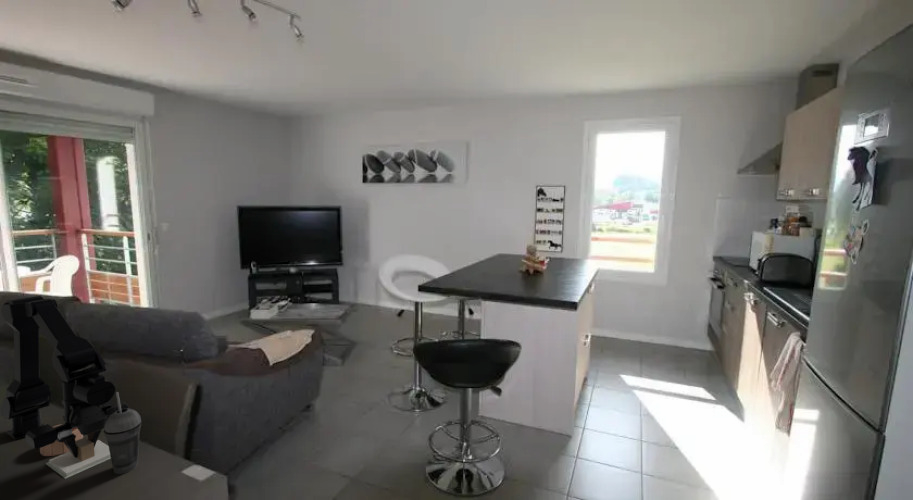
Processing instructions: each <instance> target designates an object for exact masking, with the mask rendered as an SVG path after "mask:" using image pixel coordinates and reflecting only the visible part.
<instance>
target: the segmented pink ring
mask: <svg viewBox="0 0 913 500" xmlns="http://www.w3.org/2000/svg"><path fill="white" fill-rule="evenodd" d="M62 424H63V423H61V424H58V425H55V426H53V427H56V426H59V425H62ZM72 433H73V434H74V435H76V438H75V441H77V440H79V439H82V438H84V435H82V434H81V433H80V431H79V430H78V429H77V428H74V429H72ZM68 452H70V451H69V449H68V448H67V446H66V445H65V444H64V442H58V441H55V442H54V443H52V444H49V445H47V446H44V447H41V448H39V453H40V455H41V456H43V457H54V456H60V455H63V454H65V453H68Z"/></svg>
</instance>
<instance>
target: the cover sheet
mask: <svg viewBox="0 0 913 500" xmlns="http://www.w3.org/2000/svg"><path fill="white" fill-rule="evenodd" d="M75 442H76V447H77V452H78V455H77V457H76V458H75V457H74V456H73V455H72V454H71V452H70V451H69V452H66V453H63V454H59V455H57V456H56V457H53V458H51V459H49V460H48V462H49V463H50V464H51V465H52V466H54V467H55V468H56V469H58V470H59V471H60V472H62V473H63V474H64V475H66V476H69V475H72V474H74V473H76V472H79V471H81V470H83V469H85V468H88V467H90V466H92V465H94V464H97V463H99V462H101V461H103V460H106V459H108V458H110V457H111V456H110V451H109V446H108V444H107V443H104V442H103V441H101V440H100V439H97V442H96V445H95V447H94V443H93V442H91V441H89V440H88V438H87V437H84V436H83V438H82V439H79V440H77V441H75ZM108 460H109V459H108ZM106 461H107V460H106ZM99 464H100V463H99ZM97 465H98V464H97ZM90 468H91V467H90ZM88 469H89V468H88ZM81 472H82V471H81ZM79 473H80V472H79ZM72 476H73V475H72Z"/></svg>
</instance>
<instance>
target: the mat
mask: <svg viewBox="0 0 913 500" xmlns="http://www.w3.org/2000/svg"><path fill="white" fill-rule="evenodd" d="M108 460H111V457H110V458H108V459H106V460H103V461H101V462H99V463H97V464H94V465H92V466H90V467H88V468H85V469H83V470H81V471H79V472H76V473H74V474H72V475H69V476H66V475H64V474H63V473H62V472H60V471H59V470H58V469H56V468H55V467H54V466H52V465H51V464H50V463H49V461H48V462H46V463H45V465H47V466H48V467H49V468H51V469H52V470H53V471H54V472H55V473H57V474H59V475H60V476H61V477H62V478H64V480H65V479H68V478H70V477H72V476H75V475H77V474H78V473H81V472H84V471H86V470H88V469H90V468H92V467H95V466H97V465H99V464H101V463H104V462H106V461H108Z"/></svg>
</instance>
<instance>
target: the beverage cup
mask: <svg viewBox="0 0 913 500" xmlns="http://www.w3.org/2000/svg"><path fill="white" fill-rule="evenodd" d="M115 396H116V400H117V404H118V411H116V412H114V413H113V414H112V415H111V416H110V417H109V418H108V419H107V421H106V423H105V427H104V428H103V433H104V436H105V438H106V441H107V445H108V446H109V451H110V456H111V459H110V461H111V465H112V469H113V473H114V474H115V475H116V474H117V475H122V474H126V473H129V472H131V471H133V470H135V469H136V468H137V467H138V463H139V454H140V453H139V451H140V450H139V449H140V431H141V427H142V423H143V420H142V417H141V415H140V413H139V412H138V411H137V410H135V409H133V408H130V409H128V408H126V409H121V405H120V401H121V400H120V395H119V391H115Z"/></svg>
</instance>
